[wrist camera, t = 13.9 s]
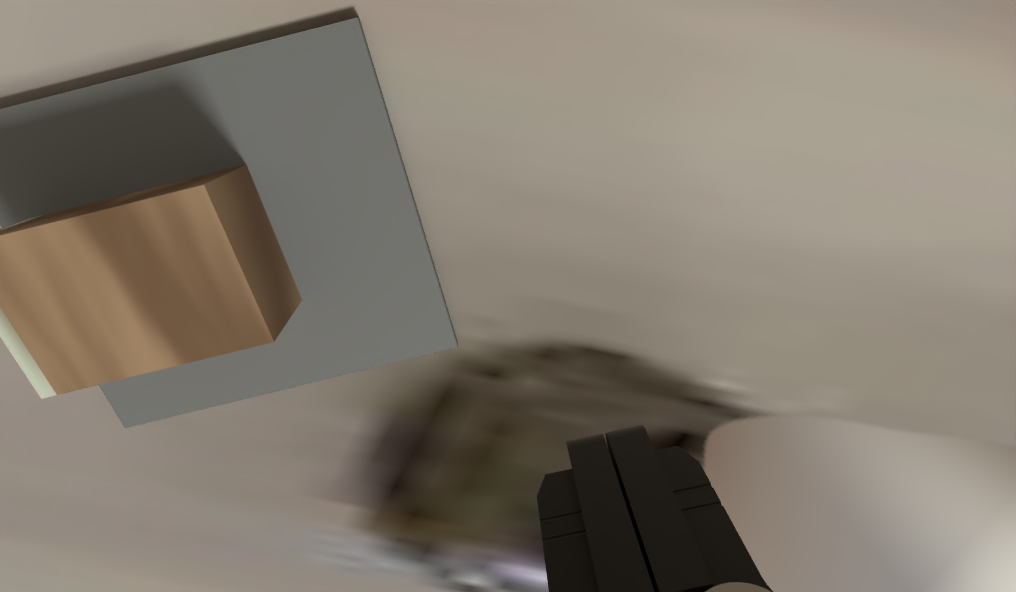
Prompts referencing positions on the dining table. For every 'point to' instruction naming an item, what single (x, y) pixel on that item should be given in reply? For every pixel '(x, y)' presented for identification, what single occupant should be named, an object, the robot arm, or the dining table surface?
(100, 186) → the mat
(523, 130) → the dining table surface
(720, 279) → the dining table surface
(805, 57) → the dining table surface
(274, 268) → the block
